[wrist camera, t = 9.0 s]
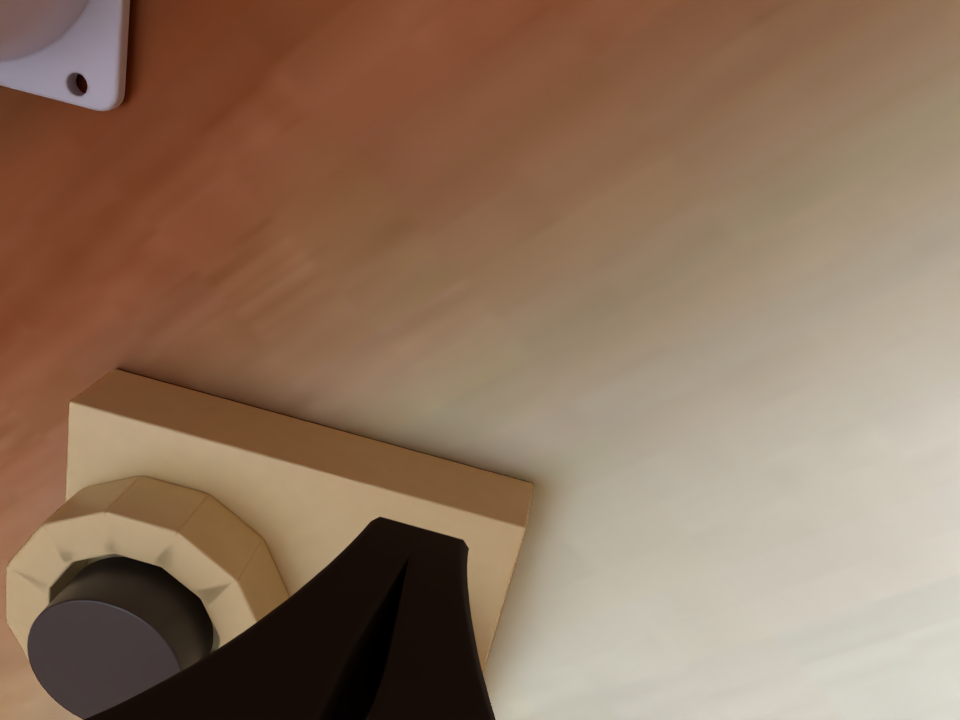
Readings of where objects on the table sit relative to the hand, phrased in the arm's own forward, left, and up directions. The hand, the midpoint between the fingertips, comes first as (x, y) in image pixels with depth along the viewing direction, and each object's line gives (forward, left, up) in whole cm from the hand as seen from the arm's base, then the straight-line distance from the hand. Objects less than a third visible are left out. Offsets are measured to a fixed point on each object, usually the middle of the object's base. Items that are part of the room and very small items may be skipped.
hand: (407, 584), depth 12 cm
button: (-7, -9, -7) cm, 13 cm away
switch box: (-4, -9, -10) cm, 14 cm away
